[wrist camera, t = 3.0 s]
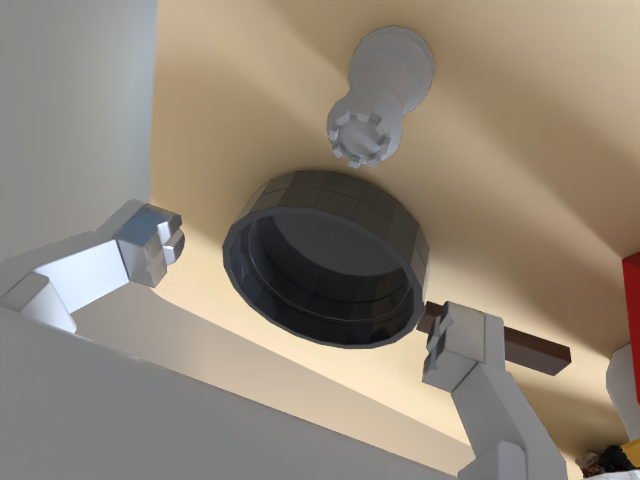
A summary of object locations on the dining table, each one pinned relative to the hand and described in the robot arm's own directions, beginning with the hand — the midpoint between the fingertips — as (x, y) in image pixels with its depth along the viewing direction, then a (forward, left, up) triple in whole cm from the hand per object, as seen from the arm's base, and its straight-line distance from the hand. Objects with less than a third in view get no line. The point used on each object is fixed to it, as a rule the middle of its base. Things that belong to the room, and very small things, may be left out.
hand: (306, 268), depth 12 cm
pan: (+15, -1, -15) cm, 21 cm away
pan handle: (+15, +12, -12) cm, 22 cm away
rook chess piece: (0, 0, -15) cm, 15 cm away
